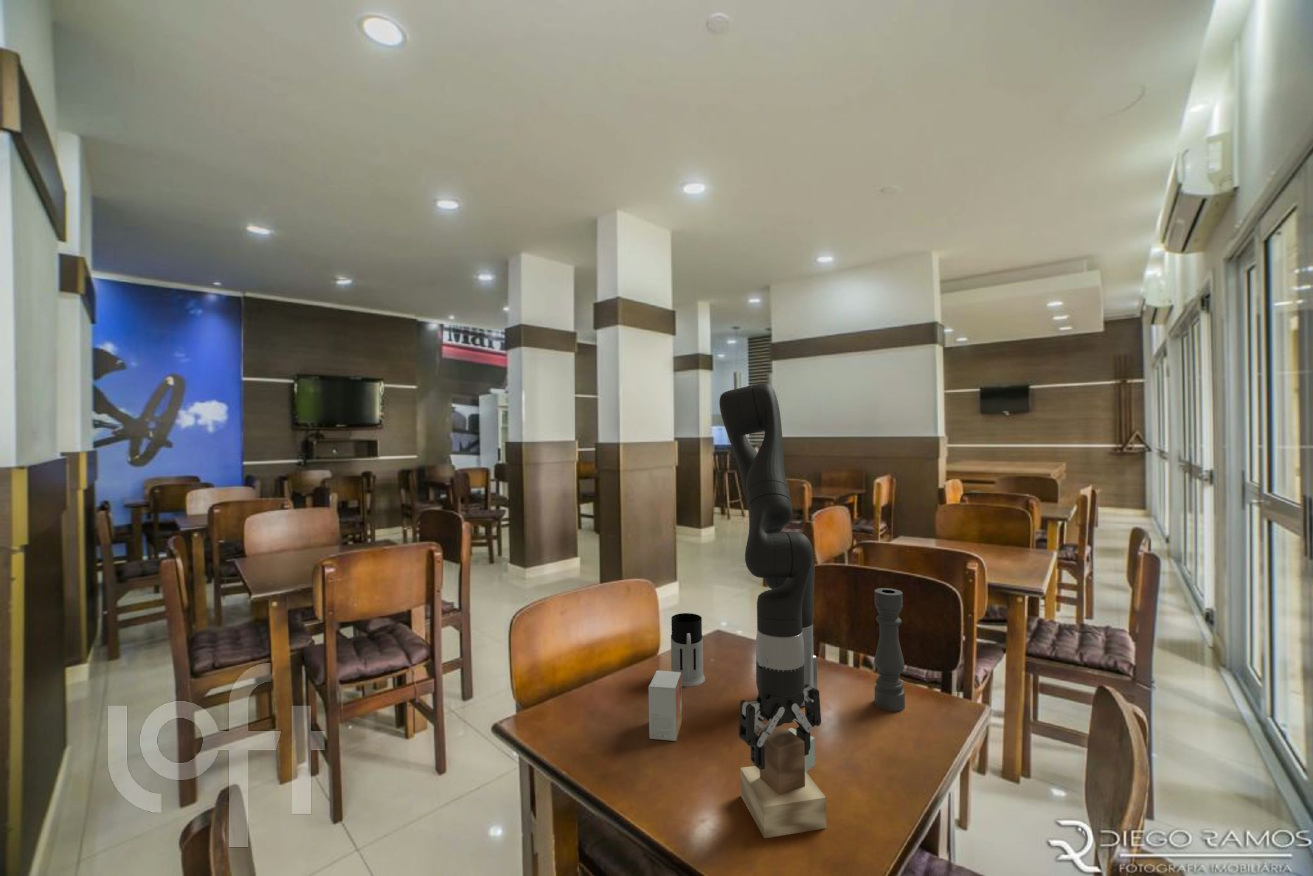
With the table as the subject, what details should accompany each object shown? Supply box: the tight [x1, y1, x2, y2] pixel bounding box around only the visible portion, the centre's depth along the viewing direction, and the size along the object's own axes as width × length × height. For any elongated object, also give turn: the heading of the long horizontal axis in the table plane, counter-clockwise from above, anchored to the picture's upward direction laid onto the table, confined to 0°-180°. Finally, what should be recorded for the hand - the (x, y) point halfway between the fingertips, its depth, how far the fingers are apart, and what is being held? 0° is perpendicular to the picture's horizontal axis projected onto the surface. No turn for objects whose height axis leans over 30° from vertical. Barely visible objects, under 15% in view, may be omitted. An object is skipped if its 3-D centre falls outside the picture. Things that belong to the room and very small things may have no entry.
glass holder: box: [670, 612, 706, 687], centre depth 134 cm, size 9×14×15 cm, turn 1°
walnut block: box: [760, 726, 805, 795], centre depth 88 cm, size 5×5×7 cm
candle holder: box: [873, 587, 906, 712], centre depth 123 cm, size 6×6×25 cm
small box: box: [648, 670, 683, 742], centre depth 113 cm, size 8×6×10 cm
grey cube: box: [787, 727, 816, 773], centre depth 101 cm, size 5×5×5 cm
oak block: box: [740, 765, 827, 839], centre depth 88 cm, size 10×10×5 cm
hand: (781, 760), depth 88 cm, fingers open, 8 cm apart
